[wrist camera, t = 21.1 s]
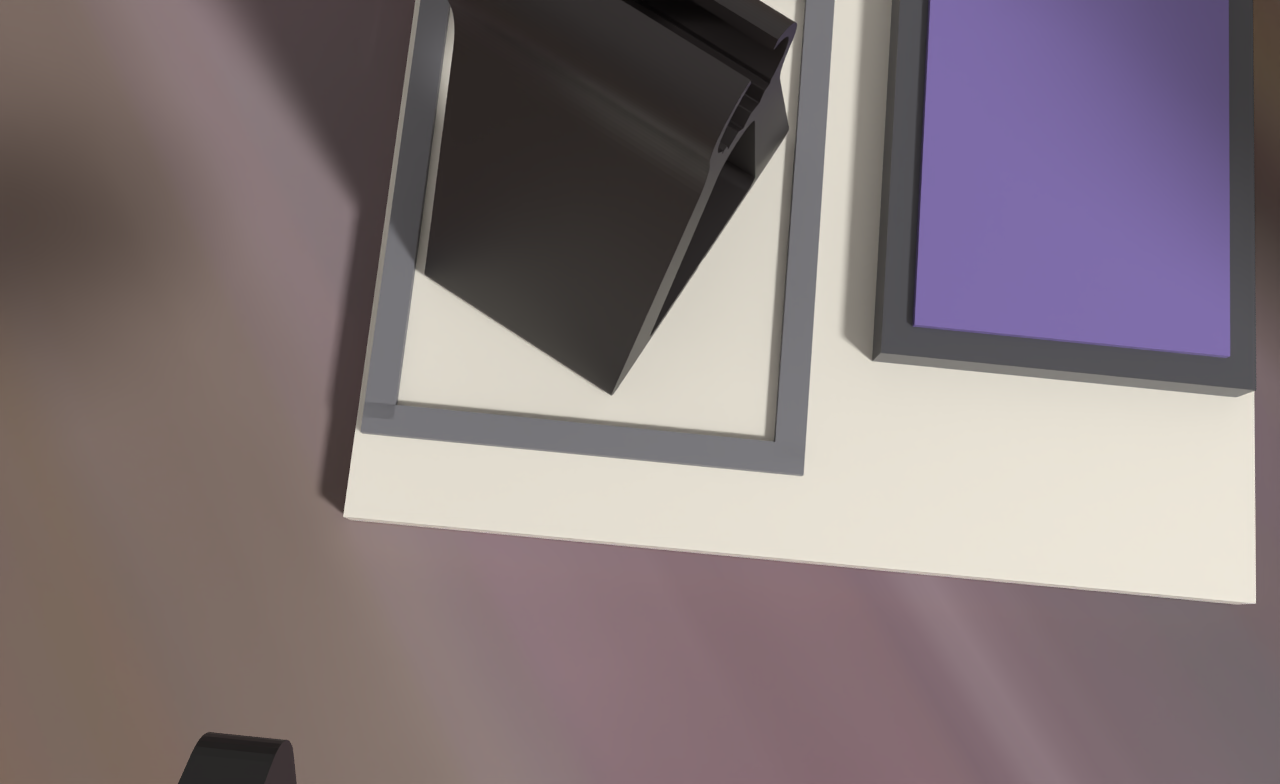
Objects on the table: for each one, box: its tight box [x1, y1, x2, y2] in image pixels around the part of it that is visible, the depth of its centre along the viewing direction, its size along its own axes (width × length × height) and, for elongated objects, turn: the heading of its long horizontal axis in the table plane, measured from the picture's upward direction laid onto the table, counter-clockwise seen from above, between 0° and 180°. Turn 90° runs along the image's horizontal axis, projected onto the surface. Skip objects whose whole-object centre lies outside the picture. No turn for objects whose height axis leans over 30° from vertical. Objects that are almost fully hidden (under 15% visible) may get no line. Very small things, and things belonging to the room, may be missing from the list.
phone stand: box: [424, 0, 797, 396], centre depth 27 cm, size 9×6×12 cm, turn 147°
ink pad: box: [872, 0, 1256, 397], centre depth 33 cm, size 10×12×1 cm
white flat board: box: [343, 0, 1256, 604], centre depth 34 cm, size 24×19×1 cm
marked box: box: [360, 0, 835, 476], centre depth 33 cm, size 12×15×1 cm
